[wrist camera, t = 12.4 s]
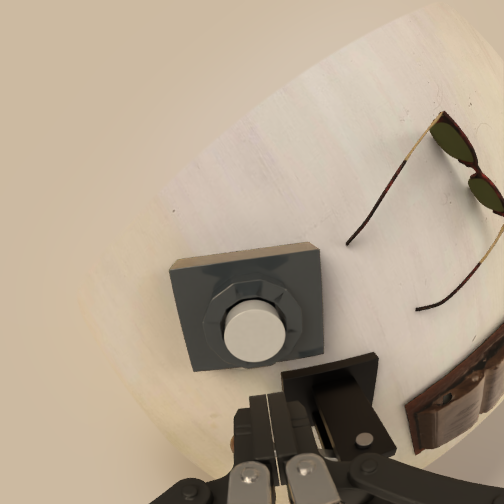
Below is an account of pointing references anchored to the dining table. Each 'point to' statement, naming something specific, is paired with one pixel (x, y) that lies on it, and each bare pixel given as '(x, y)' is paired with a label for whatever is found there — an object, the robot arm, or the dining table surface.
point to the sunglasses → (479, 183)
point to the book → (459, 396)
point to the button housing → (249, 288)
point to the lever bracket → (341, 405)
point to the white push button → (254, 331)
